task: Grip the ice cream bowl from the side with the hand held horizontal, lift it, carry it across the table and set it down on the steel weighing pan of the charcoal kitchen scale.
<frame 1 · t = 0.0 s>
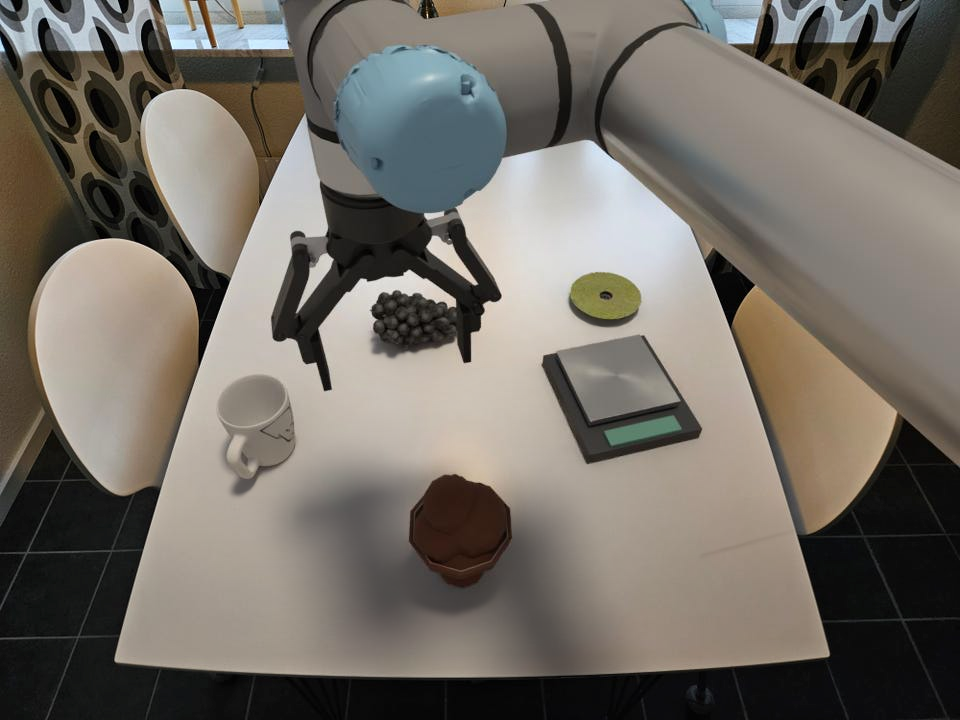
hand: (396, 366, 63), 24 cm above the table, tool pointing down, fingers open, 13 cm apart
scale: (616, 399, 91), on the table
mug: (266, 457, 84), on the table
ice cream bowl: (462, 565, 74), on the table
fruit: (421, 338, 99), on the table
scale pan: (615, 377, 90), point 3 cm above the table, slide at 0.0 cm
mat: (603, 304, 104), on the table
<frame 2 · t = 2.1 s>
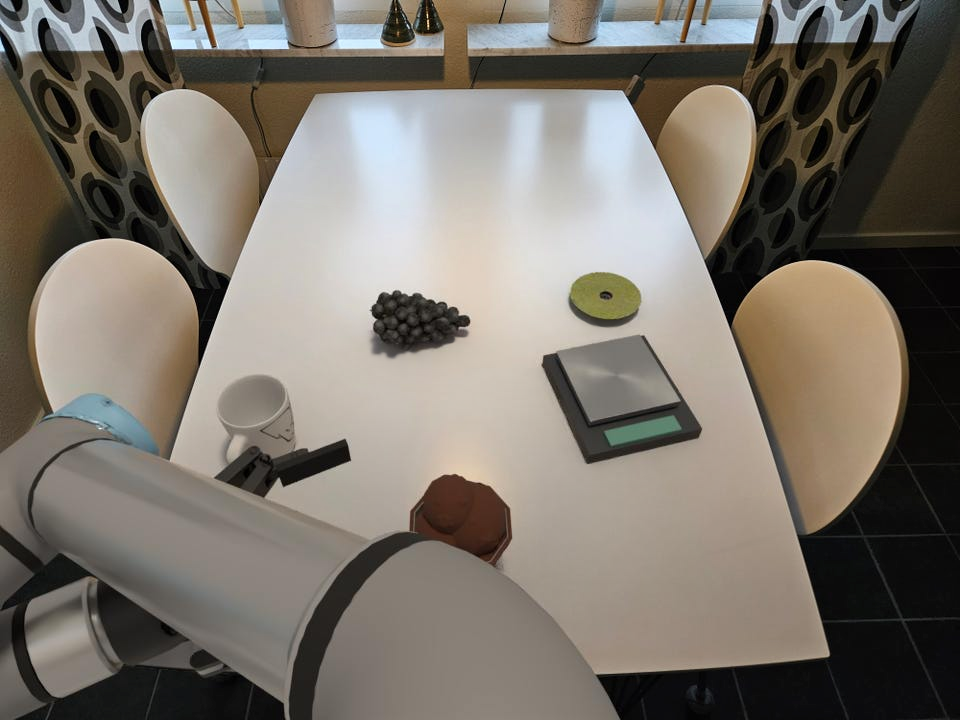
hand: (375, 509, 56), 21 cm above the table, tool horizontal, fingers open, 13 cm apart
nothing on the table moved.
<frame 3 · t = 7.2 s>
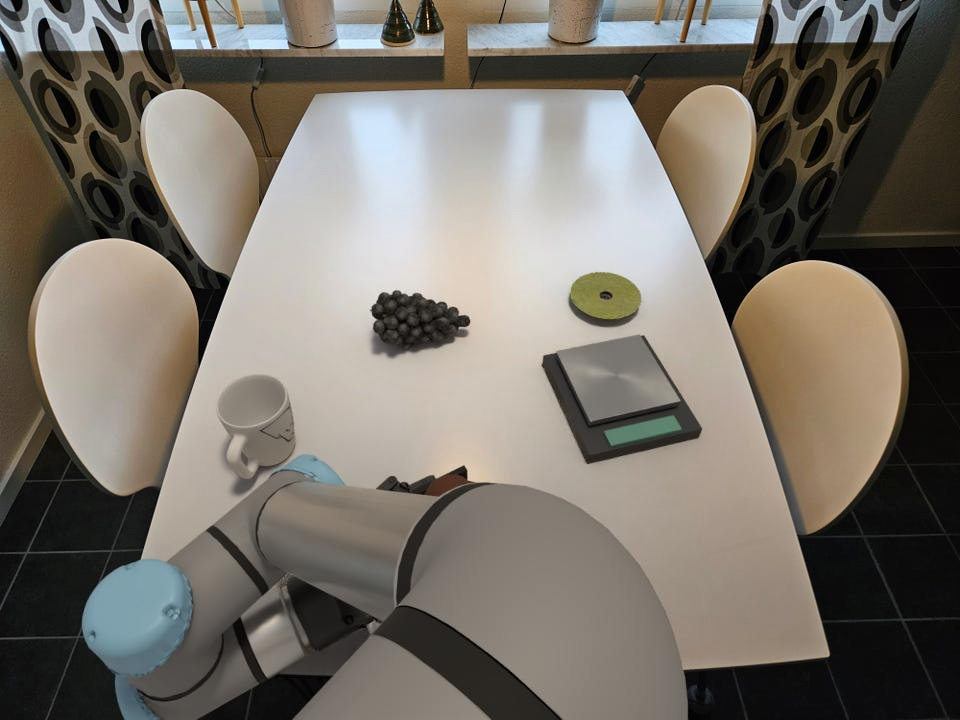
hand: (492, 514, 70), 8 cm above the table, tool horizontal, fingers closed on ice cream bowl, 11 cm apart
ice cream bowl: (462, 565, 74), on the table, touching gripper
everything else where it was.
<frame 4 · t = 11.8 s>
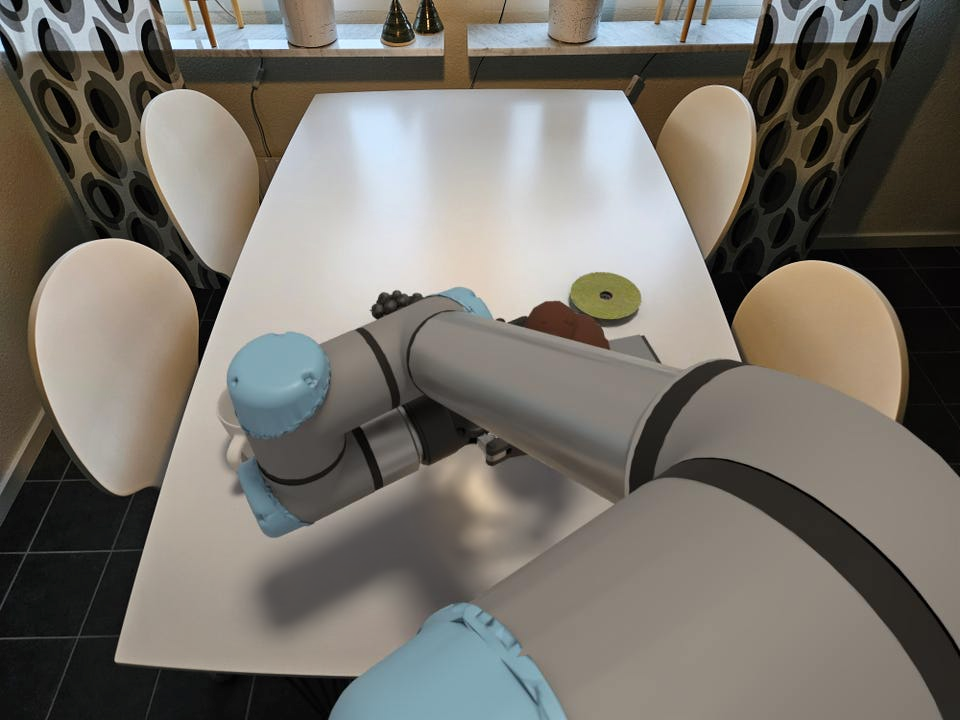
hand: (589, 348, 70), 20 cm above the table, tool horizontal, fingers closed on ice cream bowl, 11 cm apart
ice cream bowl: (552, 410, 75), point 12 cm above the table, touching gripper
everything else where it was.
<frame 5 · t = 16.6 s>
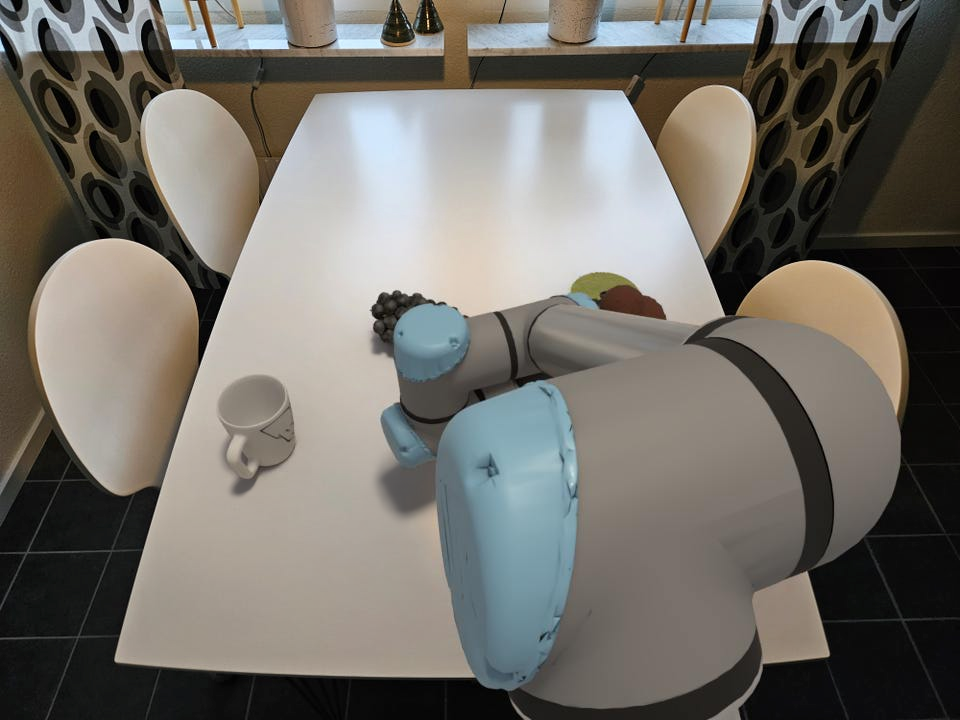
hand: (649, 325, 85), 11 cm above the table, tool horizontal, fingers closed on ice cream bowl, 11 cm apart
ice cream bowl: (616, 377, 90), point 3 cm above the table, touching gripper, scale pan
scale pan: (615, 378, 90), point 3 cm above the table, slide at -0.3 cm, touching ice cream bowl
everything else where it was.
when the fingers open (11 cm above the table, at t = 16.9 s): ice cream bowl stays where it is, resting on scale pan.
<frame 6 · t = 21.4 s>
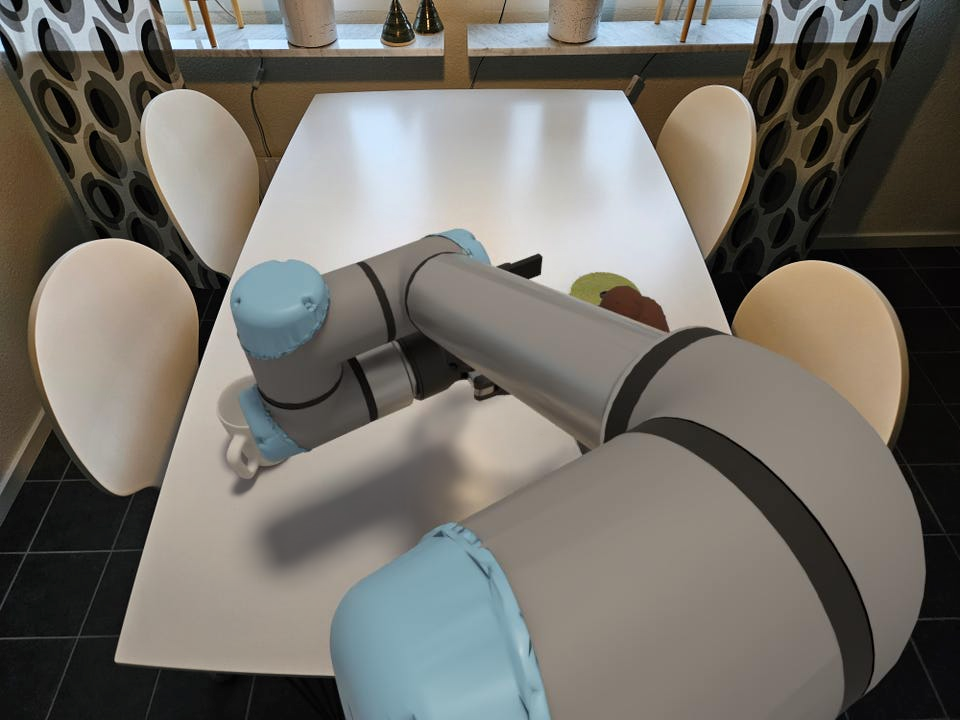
hand: (574, 297, 72), 22 cm above the table, tool horizontal, fingers open, 13 cm apart
ice cream bowl: (615, 378, 90), point 3 cm above the table, touching scale pan
everything else where it was.
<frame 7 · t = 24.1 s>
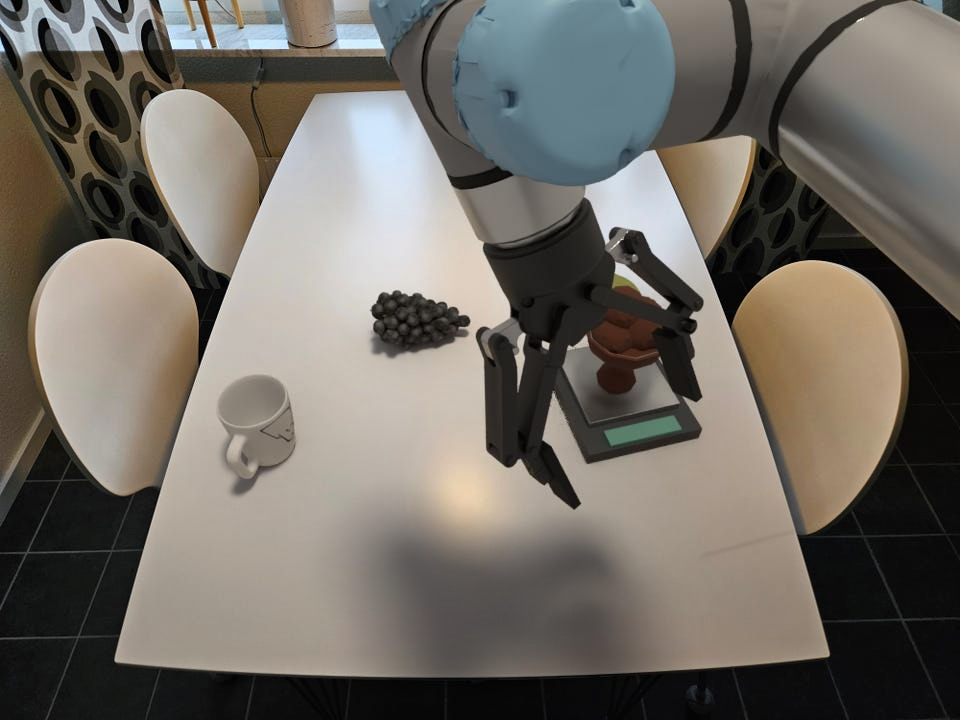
hand: (629, 445, 52), 27 cm above the table, tool tilted 30°, fingers open, 13 cm apart
nothing on the table moved.
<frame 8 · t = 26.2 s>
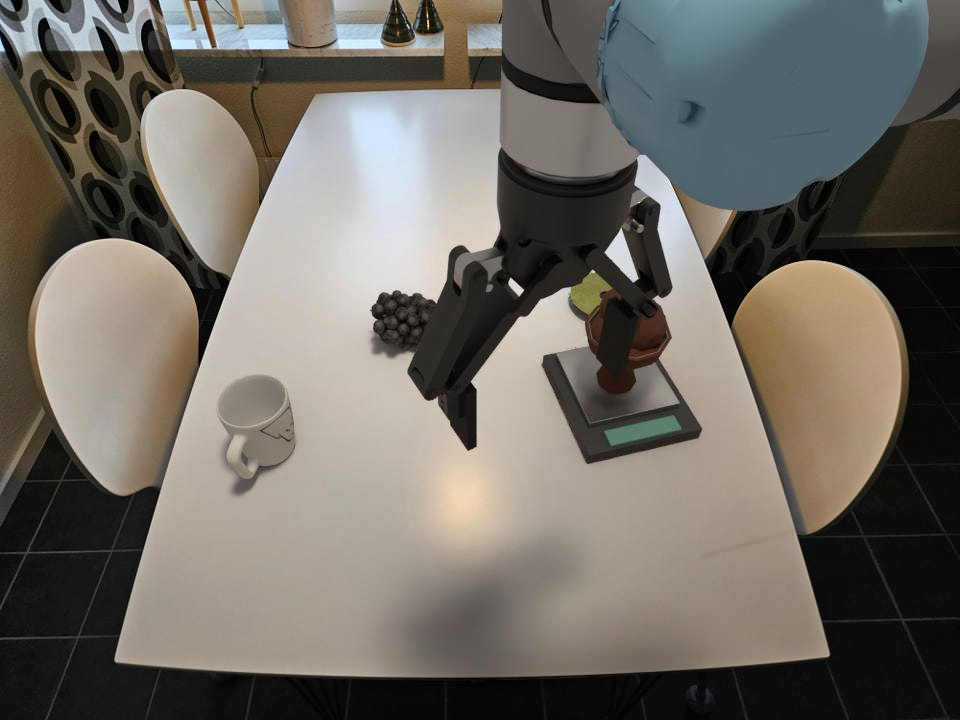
hand: (539, 400, 50), 32 cm above the table, tool pointing down, fingers open, 13 cm apart
nothing on the table moved.
at the end: ice cream bowl inside the target area on the scale (0.0 cm from its centre), point 2.9 cm above the scale's base; ice cream bowl tilted 0°; the gripper is holding nothing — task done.
